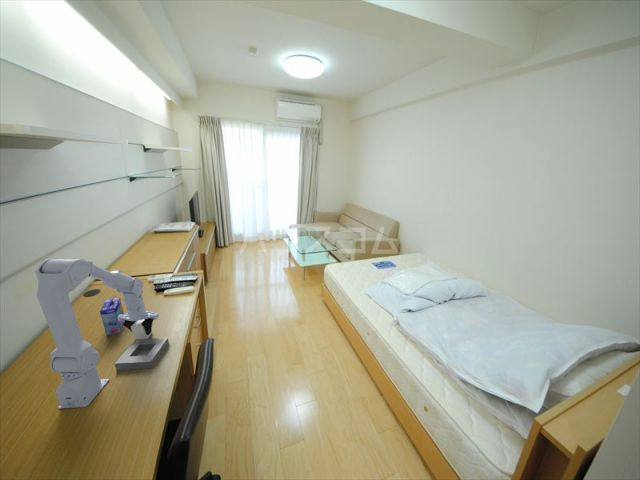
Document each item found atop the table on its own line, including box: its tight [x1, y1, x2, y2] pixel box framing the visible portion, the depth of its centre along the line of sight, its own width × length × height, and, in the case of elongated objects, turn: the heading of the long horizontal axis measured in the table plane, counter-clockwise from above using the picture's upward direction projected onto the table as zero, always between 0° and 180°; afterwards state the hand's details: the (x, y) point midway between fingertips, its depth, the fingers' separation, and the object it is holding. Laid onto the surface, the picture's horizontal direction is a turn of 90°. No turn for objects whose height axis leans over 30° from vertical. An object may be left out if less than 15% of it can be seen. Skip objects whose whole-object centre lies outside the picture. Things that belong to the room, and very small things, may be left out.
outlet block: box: [114, 337, 170, 371], centre depth 91 cm, size 12×12×3 cm
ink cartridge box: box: [99, 296, 125, 336], centre depth 104 cm, size 10×6×14 cm, turn 29°
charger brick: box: [131, 319, 153, 342], centre depth 101 cm, size 5×4×7 cm
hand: (142, 333), depth 101 cm, fingers closed on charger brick, 4 cm apart
